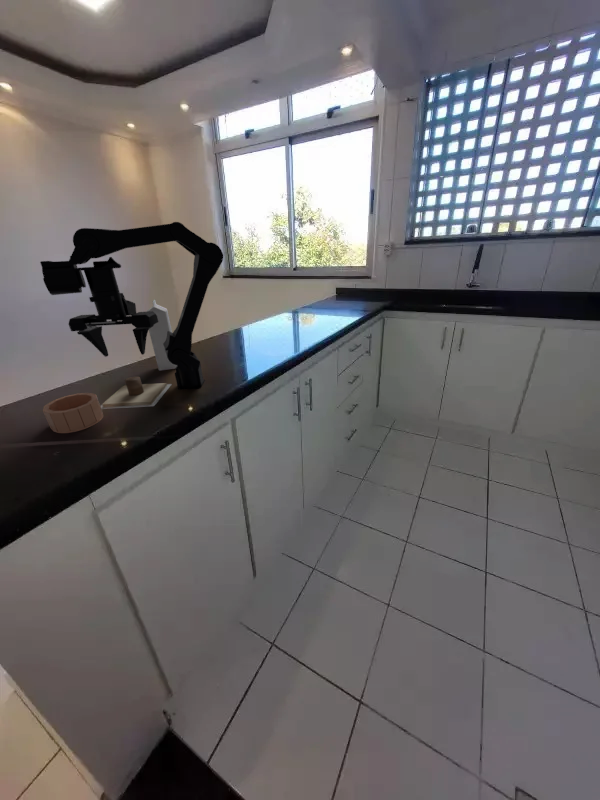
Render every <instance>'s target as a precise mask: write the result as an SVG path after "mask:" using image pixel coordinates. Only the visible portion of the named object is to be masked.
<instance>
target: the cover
mask: <svg viewBox="0 0 600 800" xmlns="http://www.w3.org/2000/svg"><path fill="white" fill-rule="evenodd" d="M124 383H125V385H123V386H121V387H120V388H119V389H118V390H117V391H116V392H114V393H113V394H112V395H111V396H109V397H108V398H107V399H106V400H105V401H104V402H103V403H101V405H103V407H112V406H131V405H150V404H152V403H153V402H154V401H155V400H156V398H157V397H158V396H159V395H160V394H161V392H162V391H163V390H164V389H165V388H166V387H167V384H168V383H167V382H164V383H163V382H162V383H142V380H141V377H140V376H130V377H127V378H125V379H124Z"/></svg>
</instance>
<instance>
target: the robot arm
mask: <svg viewBox="0 0 600 800" xmlns="http://www.w3.org/2000/svg"><path fill="white" fill-rule="evenodd" d="M173 242H176V243H177V244H179V245H180V246H181V247H182V248H184V249H185V250H186V251H188V252H189V253H190V254H191V255H193V256H194V259H193V272H192V278H191V282H190V285H189V288H188V292H187V294H186V297H185V301H184V302H183V303H184V304H183V306H182V307H183V308H182V310H181V313H180V316H179V318H178V319H179V320H178V322H177V325H176V326H175V328H174V330H173V331H172V333H171V332H170V331H167V338H166V341H165V342H164V343H163V345H164V348H165V352H166V355H167V358H168V360H169V361H170V362H171V363H172V364H174V365H177V367H176V368H175V369H174V370H175V372H174V377H175V381H176V385H177V387H178V388H177V391H178V390H179V391H181V390H196V389H201V388H202V387H203V385H204V384H205V382H206V379H204V374H203V369H202V366H201V361H200V360H199V358H198V356H197V355H196V353H195V352H194V351H192V347H193V346H192V344H193V343H192V342H193V333H194V329H195V326H196V323H197V321H198V319H199V318H198V317H199V314H200V311H201V308H202V305H203V302H204V299H205V296H206V293H207V291H208V287H209V284H210V283H211V281H212V280H213V278H214V277H215V275H216V274H217V273H218V270H219V269H220V267H221V265H222V263H223V260H224V254H223V252H222V249H221V247H220V246H219V245H218V244H216V243H215V242H208V241H206V240H205V239H204V238H202V237H201V236H199V235H198V234H196V233H195V232H193V231H192V230H190V229H188V227H187V226H185V225H184V224H183V223H181V222H179V221H173V222H171V223H166V224H165V223H164V224H158V225H150V226H143V227H135V228H133V227H132V228H126V229H107V228H87V227H81V228H79V229H77V230H76V231H75V232H74V233H73V236H72V243H73V247H74V249H73V251H72V253H71V255H70V256H69V259H68V260H61V261H52V260H43V261H42V260H41V261H40V262H39V263H40V266H41V271H42V277H43V278H42V280H43V282H44V285H45V287H46V289H47V290H48V293H49V294H50V295H51V296H59V295H67V294H81V293H83V289H82V288H86V287H87V285H86V281H87V284H88V288H89V291H90V294H91V296H89V297H88V299H89V301H90V303H93V302H94V305H95V310H96V312H97V314H80V315H76V316H75V317H71V318H69V320H68V326H69V329H70V331H71V332H77V335H81V336H82V337H83V338H85V339H86V340H87V341H88V342H89V343H90V344H92V345H93V346H94V347H95V348H96V349H97V350H98V351H99V352H100V353H101V355H103V357H105V358H107V357H108V356H109V352H108V347H107V346H106V342H105V340H104V337H103V326H115V325H116V326H118V325H132V326H133V327H135V328H133V329H132V333H133V336H134V339H135V343H136V344H137V347H138V350H139V352H140V354H141V355H142V356H144V355H145V353H146V343H147V337H148V332H149V329H150V328H151V327H153V326H154V324H156V323H158V318H157V315H156V314H155V313H154V312H153V311H148V312H146V311H138V312H137V305H136V303H135V302H133V301H131V300H127V299H126V297H125V295H124V292H120V289H119V285H118V282H117V279H116V275H115V272H114V271H115V270H114V269H120V268H122V265H121V264H120V263H119V262H117V260H114V258H113V257H112V256H110V257H109V258H108V259H107V260H98V261H95V260H94V261H92V265H93V266H86V267H78V265H83V264H86V263H88V262H89V261H90V260H91V259H99V258H103V257H106V256H108V255H112V254H114V253H117V252H119V251H123V250H126V249H129V248H136V247H144V246H151V245H158V244H164V243H173ZM83 272H84V274H83ZM84 275H85V278H84ZM85 279H86V281H85Z"/></svg>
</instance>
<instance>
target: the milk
mask: <svg viewBox="0 0 600 800" xmlns="http://www.w3.org/2000/svg"><path fill="white" fill-rule="evenodd" d="M148 311H153V312H154V313H155V314H156V315H157V318H158V323H156V324H154V326H153V327H151V328H150V329H149V330H148V332H149V337H150V340H151V344H152V347H153V348H152V349H153V353H154V357H155V360H156V365H157V369H158V371H166V370H175V368H176V367H177V365H174V364H172V363H171V362H170V361H169V360H168V358H167V355H166V352H165V348H164V345H163V343H164V342H165V341H166V338H167V331H170V332H171V333H173V328H172V324H171V319H170V315H169V311H168V308H166V307H164V306H162V305H160V304H157V301H156V299H153V301H152V306H151V307H149V309H147V310H146V311H145V312H148Z"/></svg>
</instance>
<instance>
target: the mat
mask: <svg viewBox="0 0 600 800" xmlns="http://www.w3.org/2000/svg"><path fill="white" fill-rule="evenodd" d="M171 386H172V383H167V387H166V388H165V389H164V390H163V391H162V392H161V394H160V395H159V396H158V397H157V398H156V400H155V401H154V402H153V403H152V404H150V405H131V406H112V407H103V405H102V404H100V406H101V409H102V410H106V409H107V410H108V409H126V408H143V407H145V408H146V407H155V405H157V403H158V402H159V401H160V399H161V398H162V397H163V396H164V394H165V393H166V392H167V391H168V390H169V388H170V387H171Z"/></svg>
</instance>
